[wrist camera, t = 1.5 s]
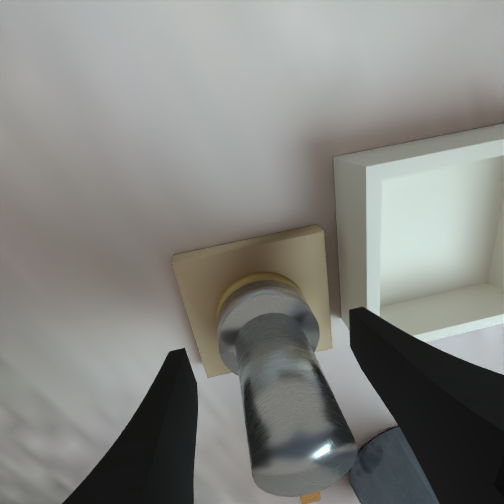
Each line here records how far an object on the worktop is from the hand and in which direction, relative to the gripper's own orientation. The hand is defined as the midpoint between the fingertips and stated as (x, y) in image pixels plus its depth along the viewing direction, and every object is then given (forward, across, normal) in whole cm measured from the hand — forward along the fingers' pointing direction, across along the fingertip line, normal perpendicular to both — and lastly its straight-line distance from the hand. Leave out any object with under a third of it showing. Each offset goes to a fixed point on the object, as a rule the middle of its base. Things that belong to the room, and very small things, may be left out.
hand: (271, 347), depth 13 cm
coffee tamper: (+2, 0, 0) cm, 2 cm away
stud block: (+4, 0, 0) cm, 4 cm away
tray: (+4, -9, -2) cm, 10 cm away
